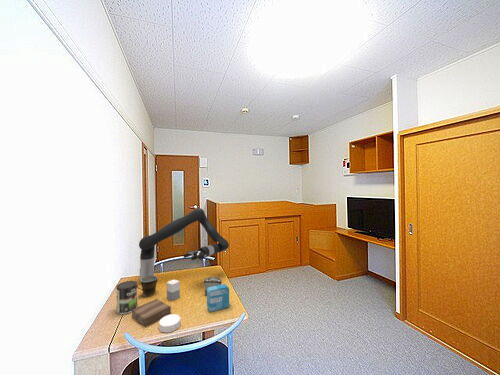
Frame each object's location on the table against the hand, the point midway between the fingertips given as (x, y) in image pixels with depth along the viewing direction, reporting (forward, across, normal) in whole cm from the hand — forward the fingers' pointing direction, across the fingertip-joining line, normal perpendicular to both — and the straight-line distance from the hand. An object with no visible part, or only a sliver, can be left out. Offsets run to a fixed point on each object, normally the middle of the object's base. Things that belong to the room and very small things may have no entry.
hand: (187, 257), depth 144 cm
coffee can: (+34, -10, +22) cm, 42 cm away
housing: (+11, 0, +22) cm, 25 cm away
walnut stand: (+29, +7, +22) cm, 37 cm away
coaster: (+28, +23, +23) cm, 43 cm away
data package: (+3, +31, +23) cm, 38 cm away
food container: (-7, +17, +23) cm, 29 cm away
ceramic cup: (+19, -17, +22) cm, 34 cm away
